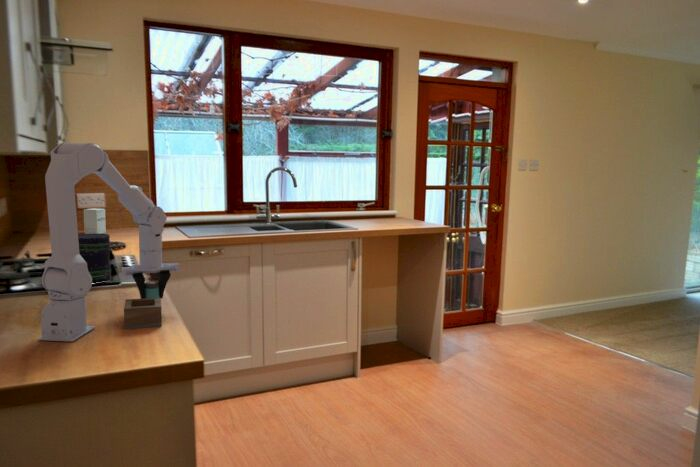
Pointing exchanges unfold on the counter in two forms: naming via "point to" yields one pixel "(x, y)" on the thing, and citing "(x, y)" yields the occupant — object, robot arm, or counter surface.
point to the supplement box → (94, 221)
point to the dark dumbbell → (154, 275)
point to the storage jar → (96, 255)
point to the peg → (152, 289)
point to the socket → (142, 313)
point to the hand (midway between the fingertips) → (151, 298)
